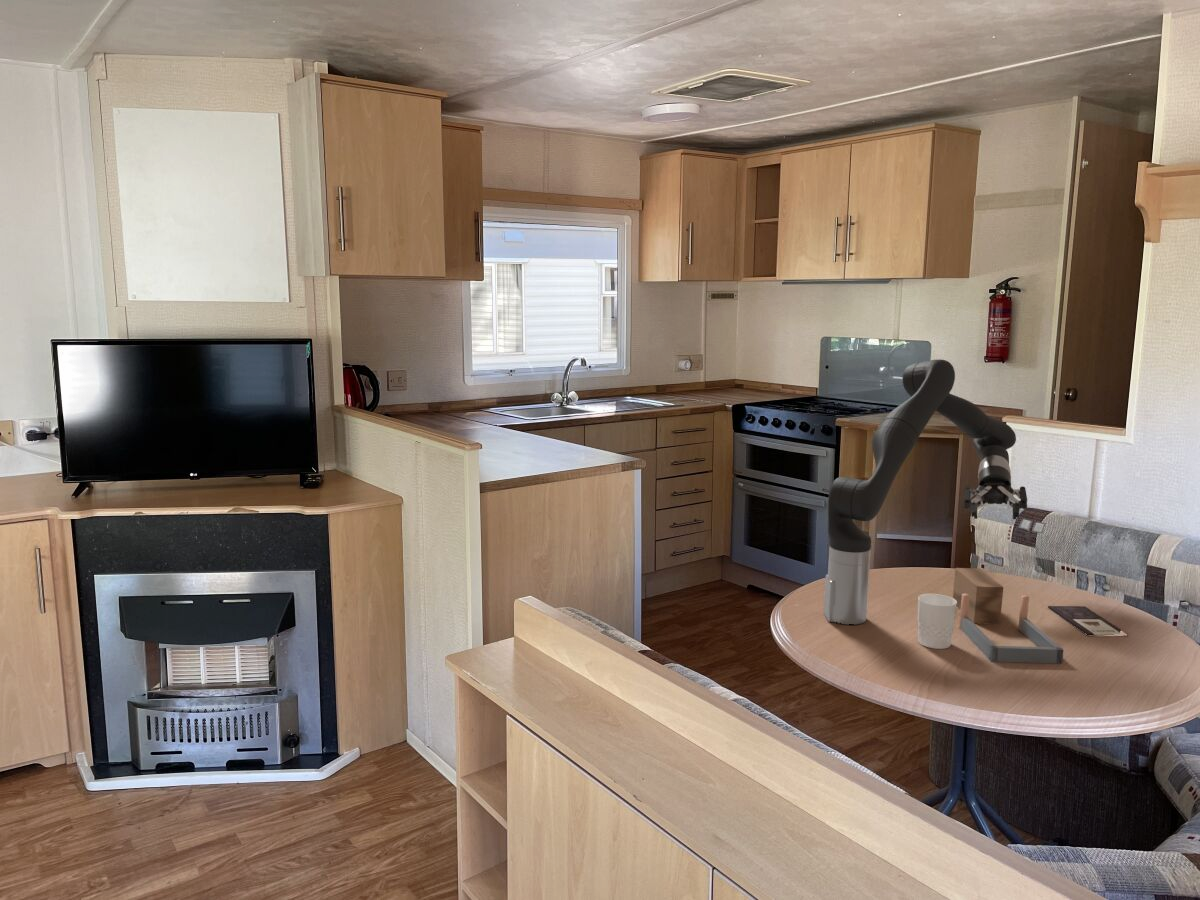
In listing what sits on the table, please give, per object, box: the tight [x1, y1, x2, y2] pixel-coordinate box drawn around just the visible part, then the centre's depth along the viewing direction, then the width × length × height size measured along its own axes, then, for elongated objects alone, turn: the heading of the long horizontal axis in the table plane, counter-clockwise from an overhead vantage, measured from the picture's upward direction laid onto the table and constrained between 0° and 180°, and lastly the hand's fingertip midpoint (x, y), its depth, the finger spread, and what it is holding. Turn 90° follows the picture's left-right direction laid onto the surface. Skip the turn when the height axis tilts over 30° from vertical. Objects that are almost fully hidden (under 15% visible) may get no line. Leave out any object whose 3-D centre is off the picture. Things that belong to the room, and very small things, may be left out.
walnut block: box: [952, 567, 1004, 625], centre depth 215 cm, size 6×14×9 cm, turn 178°
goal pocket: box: [958, 594, 1064, 664], centre depth 196 cm, size 15×19×8 cm
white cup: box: [917, 593, 957, 650], centre depth 196 cm, size 8×8×10 cm
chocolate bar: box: [1047, 605, 1122, 636], centre depth 211 cm, size 9×1×18 cm
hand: (995, 516), depth 216 cm, fingers open, 8 cm apart
